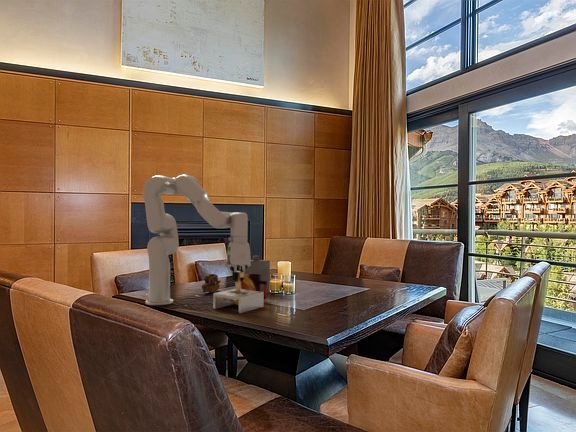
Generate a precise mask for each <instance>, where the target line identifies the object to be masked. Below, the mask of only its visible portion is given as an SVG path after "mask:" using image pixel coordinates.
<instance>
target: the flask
mask: <svg viewBox="0 0 576 432" xmlns="http://www.w3.org/2000/svg"><path fill="white" fill-rule="evenodd" d="M270 261H271V260H269V259H260V255H252V259H251V262H250V263H251V266H249V267H247V268H246V270H245V272H244V274H259V275H261V281H267V294H269V293H270V292H271V291H270V286H271V285H270V284H271V283H270V280H271V279H270V278H271V277H270V275H271V274H270V273H271V270H270V269H271V267H270V266H271V262H270ZM261 292H264V284H261Z"/></svg>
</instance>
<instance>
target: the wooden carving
mask: <svg viewBox="0 0 576 432" xmlns="http://www.w3.org/2000/svg"><path fill="white" fill-rule="evenodd" d="M203 281H204V283H202V284H201V290H202V292H203V293H216V292H217V291H218V290H219V288H220V287H221V285H220V283H221V282H222V280H219V276H218V274H215V273H208V274H207V275H205V276H204V280H203Z"/></svg>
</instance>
